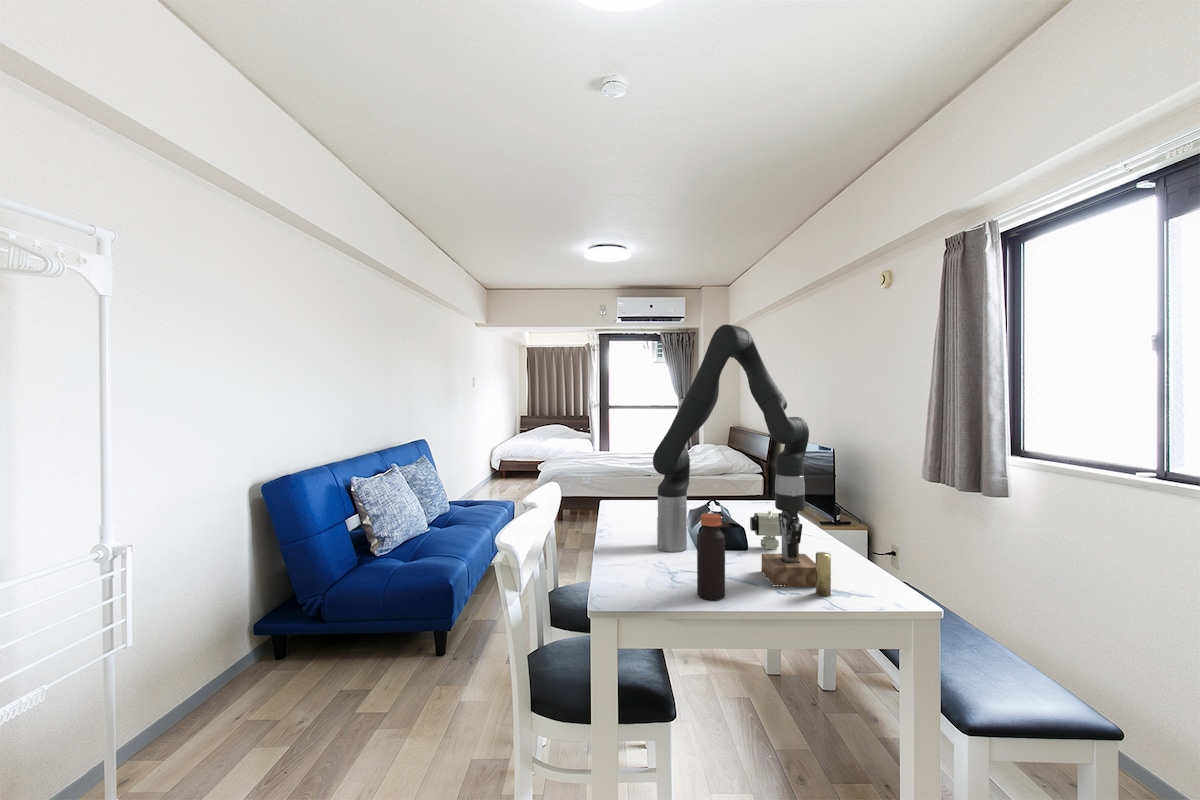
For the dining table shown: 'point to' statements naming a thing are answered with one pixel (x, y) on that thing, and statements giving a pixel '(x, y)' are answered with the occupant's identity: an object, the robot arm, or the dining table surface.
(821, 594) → the cylinder
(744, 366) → the robot arm
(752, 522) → the pneumatic valve
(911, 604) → the dining table surface
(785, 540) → the square bit
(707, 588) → the bottle
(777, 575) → the socket block
